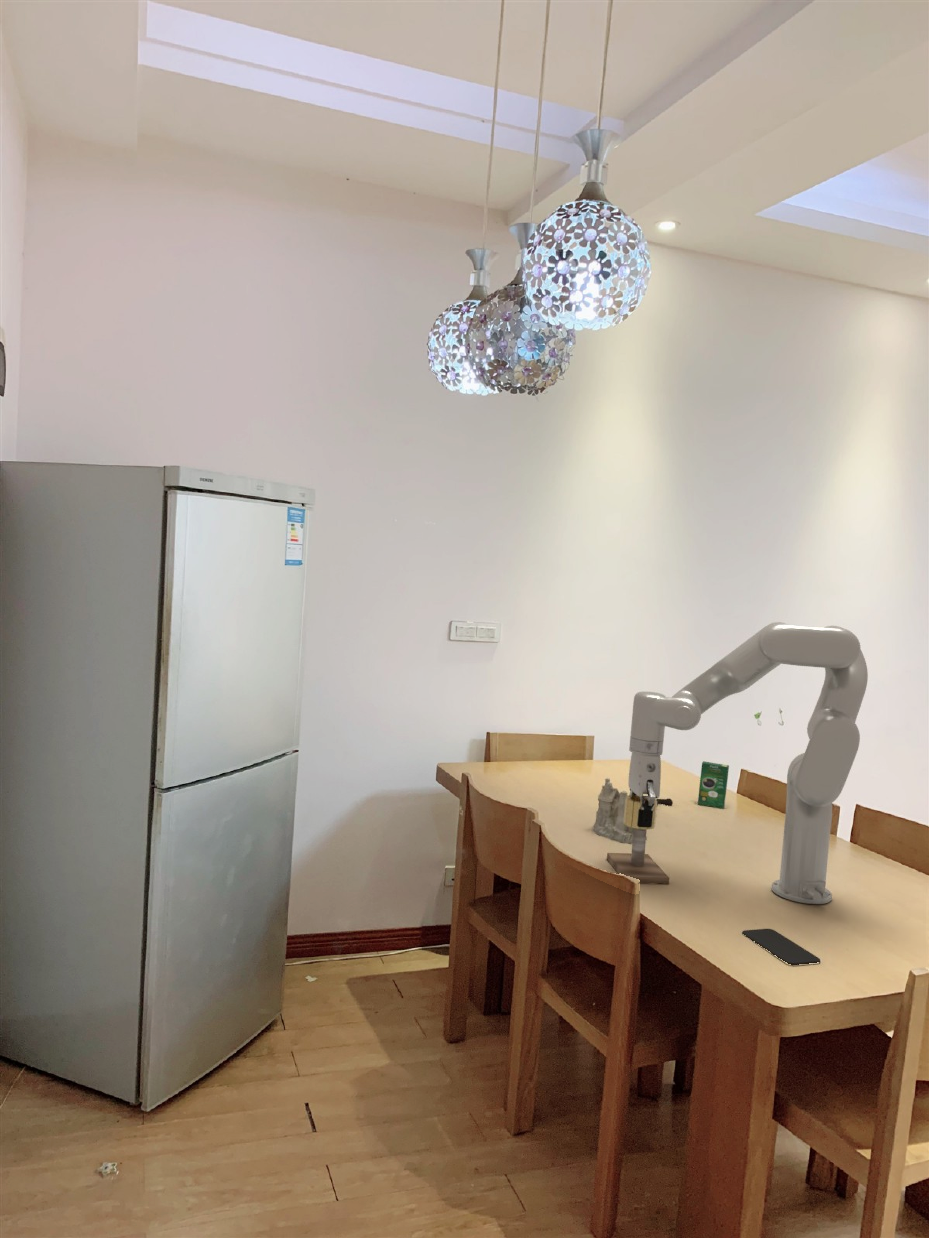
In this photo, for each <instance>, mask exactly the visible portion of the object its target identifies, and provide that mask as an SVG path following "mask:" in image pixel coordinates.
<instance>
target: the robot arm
mask: <svg viewBox="0 0 929 1238" xmlns="http://www.w3.org/2000/svg"><path fill="white" fill-rule="evenodd" d="M859 640H860V639H859V638H858V637H857V635H855V633H853V632H852V631H850V630H848V629H847V628H843V627H841V626H837V625H827V626H824V627H817V626H816V627H815V626H803V625H795V624H794V625H793V624H789V623H785V622H780V621H776V622H771V623H769V624H768V625H766V626H764V627H763V628H762V629H759V631H758V632H756V633H754V634H753V635H752V636H751V637H749V638H748V639H747V640H745V641H744V642H743V643H741V644H740V645H739V646H738V647H736V648H735V649H734V650H732V651H731V652H729V653H728V654H727V655H725V656H724V657H722V658H721V659H720V660H719V661H717V662H716V663H714V664H713V665H712V666H710V668H708V669H707V670H706V671H704V672H703V673H701V674H700V675H698V676H697V677H696V678H694V679H693V680H692V681H690V682H689V683H688V684H686V685H685V686H683V687H682V688H681V689H680V690H678V691H677V692H676V693H675V694H673V695H672V697H669V696H666V695H665V694H663V693H660V692H654V691H639V692H637V693H635V694H634V697H633V703H632V704H633V705H632V712H631V713H632V715H631V726H630V737H629V746H628V747H629V749H628V751H629V752H631V757H630V763H629V769H628V788H629V791H630V792H629V795H637V796H639V797H640V809H639V811H638V822H637V826H638V827H648V828H650V827H651V826H652V817H653V810H654V802H655V799H660V795H661V776H662V775H661V774H662V764H661V763H662V760H661V756H662V755H663V751H664V750H663V749H664V738H665V730H666V727H668V728H671V729H675V730H678V731H679V730H680V731H689V730H692V729H695V728H696V727H697V725H699V723H700V721H701V718H702V714H704V713H706V712H707V711H708V710H709V709H711V708H712V707H713V706H715V705H717V703H719V702H720V701H723V700H724V699H726V698H728V697H730V696H732V695H735V694H739V693H741V692H743V691H745V690H747V689H749V688H750V687H751V686H753V685H754V684H756V683H757V682H759V680H761V679H762V678H763V677H765V676H766V675H767V674H769V673H770V672H772V671H774V670H775V669H776V668H777V667H778V666H780V665H782V664H783V665H790V666H798V667H813V668H824V672H825V674H824V675H825V676H824V680H823V681H824V682H823V685H822V688H821V690H820V694H819V697H818V700H817V701H816V704H815V706H814V710H813V712H812V714H811V716H810V719H809V721H808V723H807V727H806V733H807V736H808V743H807V746H806V748H805V752H803V753H801V754H798V755H797V756H795V757H794V758H793V759H792V761H791V762H790V764H789V766H788V770H787V776H786V778H787V779H786V803H785V816H784V818H785V819H784V826H783V827H784V828H783V838H782V848H781V861H780V872H779V879H776V880H774V881H773V882H772V883H771V891H773V893H774V894H776V895H777V896H779V897H781V898H784V899H786V900H789V901H792V902H796V903H801V904H807V905H808V904H809V905H824V904H828V903H830V902H831V901H832V900H833V893H832V892H831V891H830V890H829V889H828V888H826V884H827V873H828V872H827V871H828V859H829V850H830V839H831V830H832V820H833V819H832V817H833V803H834V802H835V801H837V799H838V798H839V797H840V795H841V793H842V791H843V789H844V787H845V785H846V783H847V779H848V777H849V775H850V771H851V768H852V766H853V763H854V761H855V758H856V756H857V753H858V750H859V747H860V739H861V737H860V736H861V735H860V729H859V727H858V726H857V724H856V721H857V718H858V715H859V713H860V712H859V711H860V709H861V707H862V704H863V700H864V698H865V697H864V696H865V694H866V691H867V686H868V678H869V675H868V673H869V672H868V666H867V662H866V658H865V656H864V653H863V651H862V650H861V643H860V641H859ZM644 799H645V800H646V801H645V803H644Z"/></svg>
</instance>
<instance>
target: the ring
mask: <svg viewBox="0 0 929 1238" xmlns="http://www.w3.org/2000/svg"><path fill="white" fill-rule="evenodd" d="M656 799H657V798H656ZM656 799H655V802H654V810H653V817H652V826H651V827H650V828H648V827H638V826H637V822H638V811H639V809H640V797H639V796H637V795H630V794H629V795H628V796H627V797H626V798H625V810H624V821H623V823H624V824H625V825H626V826H629V827H632V828H636V829H647V830H652V829H653V830H654V828H655V827H656V821H657V819H656V818H657V810H658V809H657V808H658V805H657V800H656ZM645 801H646V800H645V799H644V803H645Z"/></svg>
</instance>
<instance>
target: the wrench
mask: <svg viewBox="0 0 929 1238" xmlns="http://www.w3.org/2000/svg"><path fill="white" fill-rule="evenodd" d="M656 800H657V806H658V805H662V804H665V806H667V805H668V807H672V806H673V804H674V801H673V800H672V799H671V798H656Z"/></svg>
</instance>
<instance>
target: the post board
mask: <svg viewBox="0 0 929 1238" xmlns="http://www.w3.org/2000/svg"><path fill="white" fill-rule="evenodd" d="M647 830H648V829H636V828H633V841H632V844H631V853H628V852H627V853H626V852H625V853H624V852H623V853H622V852H621V853H620V852H607V855H606V859H607V861H608V863H609V864H610V865H611V866H612V867H613V869H614V870H615V872H616V873H617V874H618V873H621V874H624V875H626V876H630V877H633V878H636V879H639V880H640V883H639V884H644V883H665V884H664V885H670V877H669V876H668V874H666V872H665V871H664V870H663V869H662V868H661V866H660V865H658V863H657V862H656V861H655V860H654V859H653V858H652V857H651V856H650V855H649V853H646V843H647V840H646V837H647Z"/></svg>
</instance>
